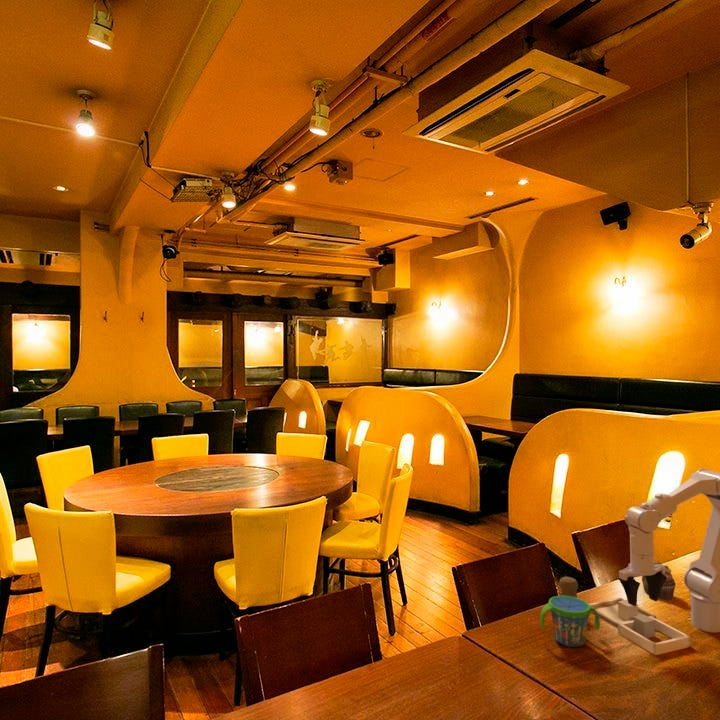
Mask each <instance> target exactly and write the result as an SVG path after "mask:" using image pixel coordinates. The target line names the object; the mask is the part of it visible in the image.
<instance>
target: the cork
mask: <svg viewBox="0 0 720 720" xmlns="http://www.w3.org/2000/svg"><path fill="white" fill-rule="evenodd" d="M558 582H559V583H558V584H559V587H560V596H571V597H576V598H578V596H577V591H578V588H579V584H578V581H577V580H576V579H575V578H573V577H572V576H571V577H570V576H563V577H560V579H559V581H558Z"/></svg>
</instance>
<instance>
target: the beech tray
mask: <svg viewBox="0 0 720 720" xmlns="http://www.w3.org/2000/svg"><path fill="white" fill-rule="evenodd" d="M623 600H625V599H624V598H622V597H618V598H613V599H607V600H603V601H597V602H592V603H588V604H589V605H591V606H592V607H593V608H594V609H595V610H596V611H597V613H598V615H599V619H601V620H602V621H603V620H604V622H606V623H609V624H610V625H611V626H613V627H615V628H616V629H618V623H623V622H628V621H625V620H623V619H621V618H619V617H618V601H623ZM590 614H593V615H595V612H594V611H593V610H591V611H590ZM643 614H644V615H646V616H648V617H651V616H652V617H654V618H655V619H657V615H654V614H653V613H651V612H648V611H647V610H646V609H643V608H641V607H639V606H638V615H643ZM629 621H632V620H629Z"/></svg>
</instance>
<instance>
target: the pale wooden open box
mask: <svg viewBox="0 0 720 720" xmlns="http://www.w3.org/2000/svg"><path fill="white" fill-rule="evenodd" d="M649 618H651V619H653V620H655V631H658V632H660V633H661V634H663V635H665V636H667V637H668V638H669V639H666V640H662V641H659V642H657V641H656V642H654V641H652V640H650V639H649V638H645V637H643V636H642V635H640V634H638V633H636V632H635V631H634V621H633V620H632V621H628V622H623V623H618V628H617V634H619V635H621V636H622V637H624V638H626V639H627V640H629V641H631V642H632V643H634V644H635V645H637V646H639V647H640V648H642V649H644V650H645V651H647V652H649V653H650V654H652V655H653V656H659V655H663V654H666V653H670V652H675V651H679V650H683V649H686V648H687V649H688V648H690V647H692V646H691V645H692V642H691V636H690V635H688V634H686V633H684V632H682V631H680V630H679V629H676V628H674V627H672V626H671V625H670V624H667V623H665V622H664V621H661V620H659V619H657V618H656V619H655V618H654V617H652V616H651V617H649ZM670 638H671V639H670Z"/></svg>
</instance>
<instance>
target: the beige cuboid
mask: <svg viewBox="0 0 720 720" xmlns="http://www.w3.org/2000/svg"><path fill="white" fill-rule="evenodd" d="M638 605H639V604H638V603H637V604H636V606H633V605H631V604H629V603H628V600H627V599H624V600H623V601H618V617H619V618H621V619H623V620H625V621H629V620H633V617H634V616H638V607H639V606H638Z"/></svg>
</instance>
